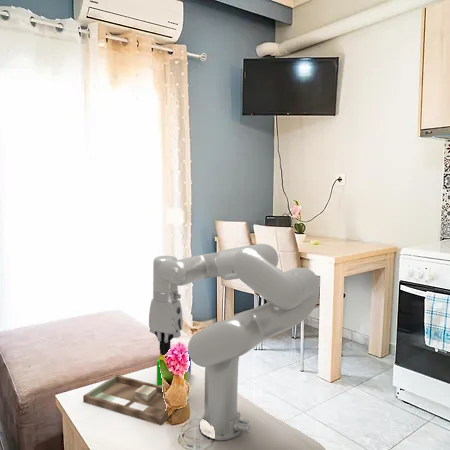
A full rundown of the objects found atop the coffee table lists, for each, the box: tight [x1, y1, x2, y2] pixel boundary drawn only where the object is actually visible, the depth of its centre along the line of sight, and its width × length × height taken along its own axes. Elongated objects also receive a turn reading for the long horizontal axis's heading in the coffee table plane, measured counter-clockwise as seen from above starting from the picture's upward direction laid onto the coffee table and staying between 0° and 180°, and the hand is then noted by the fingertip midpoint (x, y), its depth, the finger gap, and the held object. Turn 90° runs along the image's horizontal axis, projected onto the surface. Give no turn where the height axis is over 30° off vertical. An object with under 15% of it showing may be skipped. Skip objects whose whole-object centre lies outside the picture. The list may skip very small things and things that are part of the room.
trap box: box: [83, 374, 169, 426], centre depth 130 cm, size 29×16×4 cm, turn 66°
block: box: [135, 385, 157, 403], centre depth 132 cm, size 5×5×2 cm
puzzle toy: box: [156, 354, 192, 387], centre depth 144 cm, size 10×10×10 cm
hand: (164, 352), depth 127 cm, fingers closed
